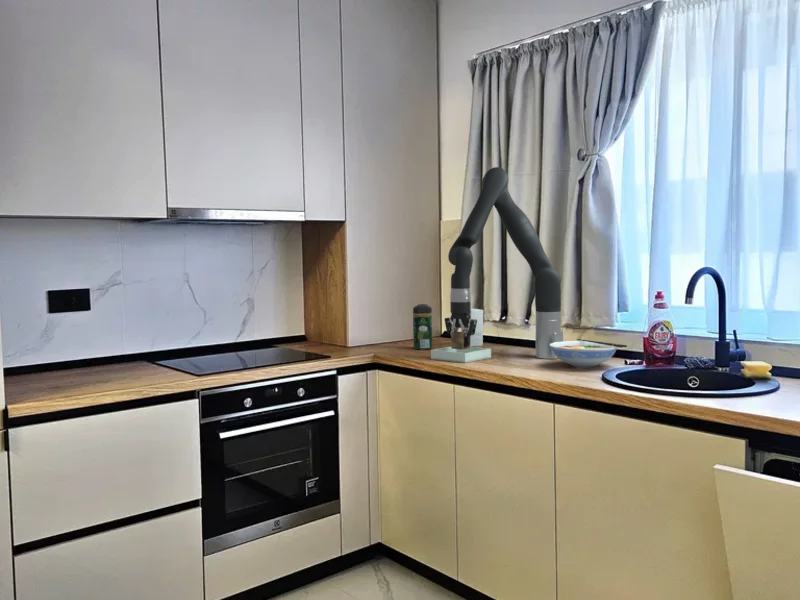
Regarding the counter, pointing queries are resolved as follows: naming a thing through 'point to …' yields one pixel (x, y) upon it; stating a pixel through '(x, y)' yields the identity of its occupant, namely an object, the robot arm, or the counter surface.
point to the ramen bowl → (584, 352)
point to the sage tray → (461, 354)
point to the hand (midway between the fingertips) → (460, 345)
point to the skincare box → (477, 328)
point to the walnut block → (458, 341)
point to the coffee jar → (422, 327)
